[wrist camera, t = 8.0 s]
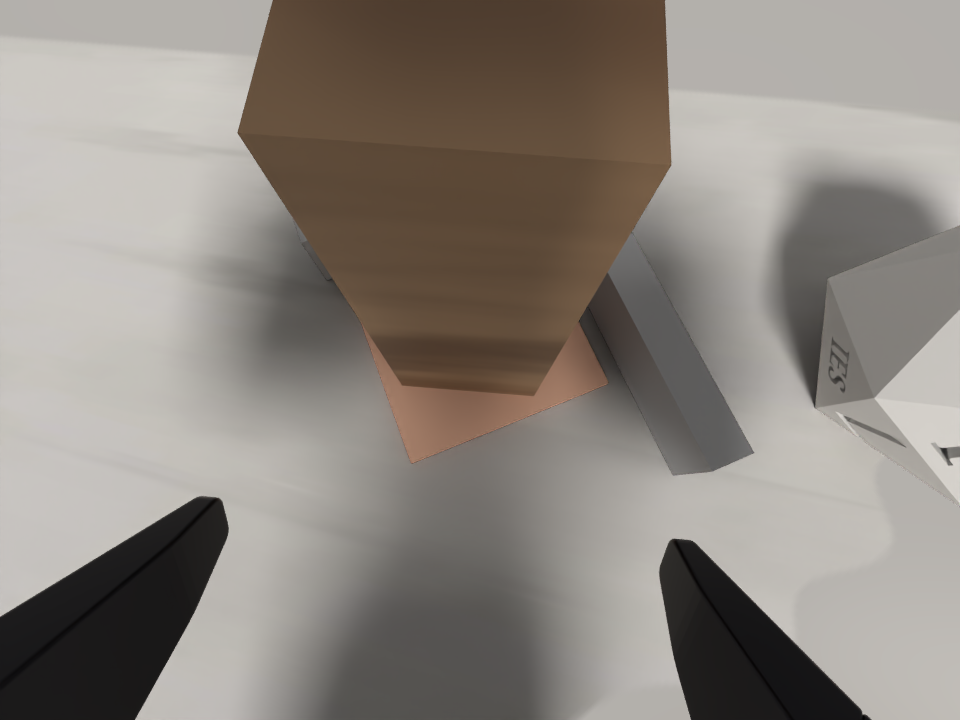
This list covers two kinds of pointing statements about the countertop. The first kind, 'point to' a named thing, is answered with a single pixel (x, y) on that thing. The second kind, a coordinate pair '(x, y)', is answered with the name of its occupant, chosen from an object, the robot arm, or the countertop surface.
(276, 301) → the countertop surface
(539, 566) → the countertop surface
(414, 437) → the pad
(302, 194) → the walnut block
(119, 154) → the countertop surface
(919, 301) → the die
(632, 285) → the corner bracket
